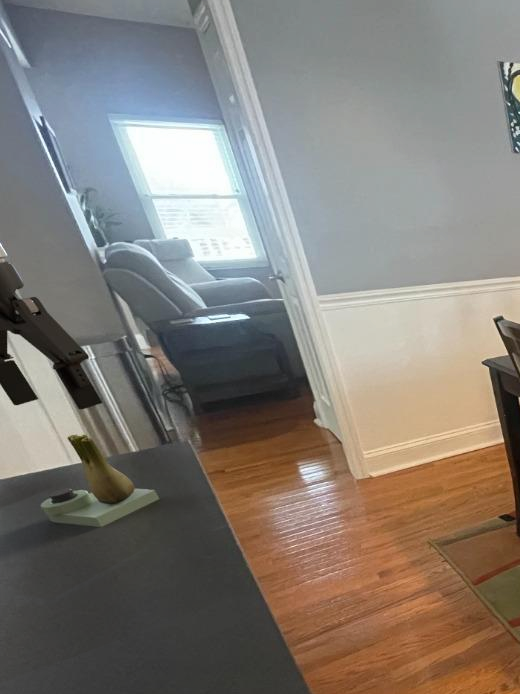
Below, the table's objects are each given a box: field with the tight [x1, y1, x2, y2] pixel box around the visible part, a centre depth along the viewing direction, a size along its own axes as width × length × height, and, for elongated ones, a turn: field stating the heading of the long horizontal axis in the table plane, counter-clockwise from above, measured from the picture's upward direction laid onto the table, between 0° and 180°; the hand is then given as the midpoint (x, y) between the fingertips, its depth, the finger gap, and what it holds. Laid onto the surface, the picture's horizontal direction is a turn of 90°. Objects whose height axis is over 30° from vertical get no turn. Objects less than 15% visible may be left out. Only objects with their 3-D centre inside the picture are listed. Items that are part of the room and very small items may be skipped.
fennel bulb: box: [67, 434, 135, 504], centre depth 99 cm, size 6×5×12 cm
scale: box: [40, 487, 160, 528], centre depth 101 cm, size 12×10×4 cm
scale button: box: [48, 488, 76, 504], centre depth 99 cm, size 3×3×2 cm
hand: (58, 404), depth 94 cm, fingers open, 13 cm apart
